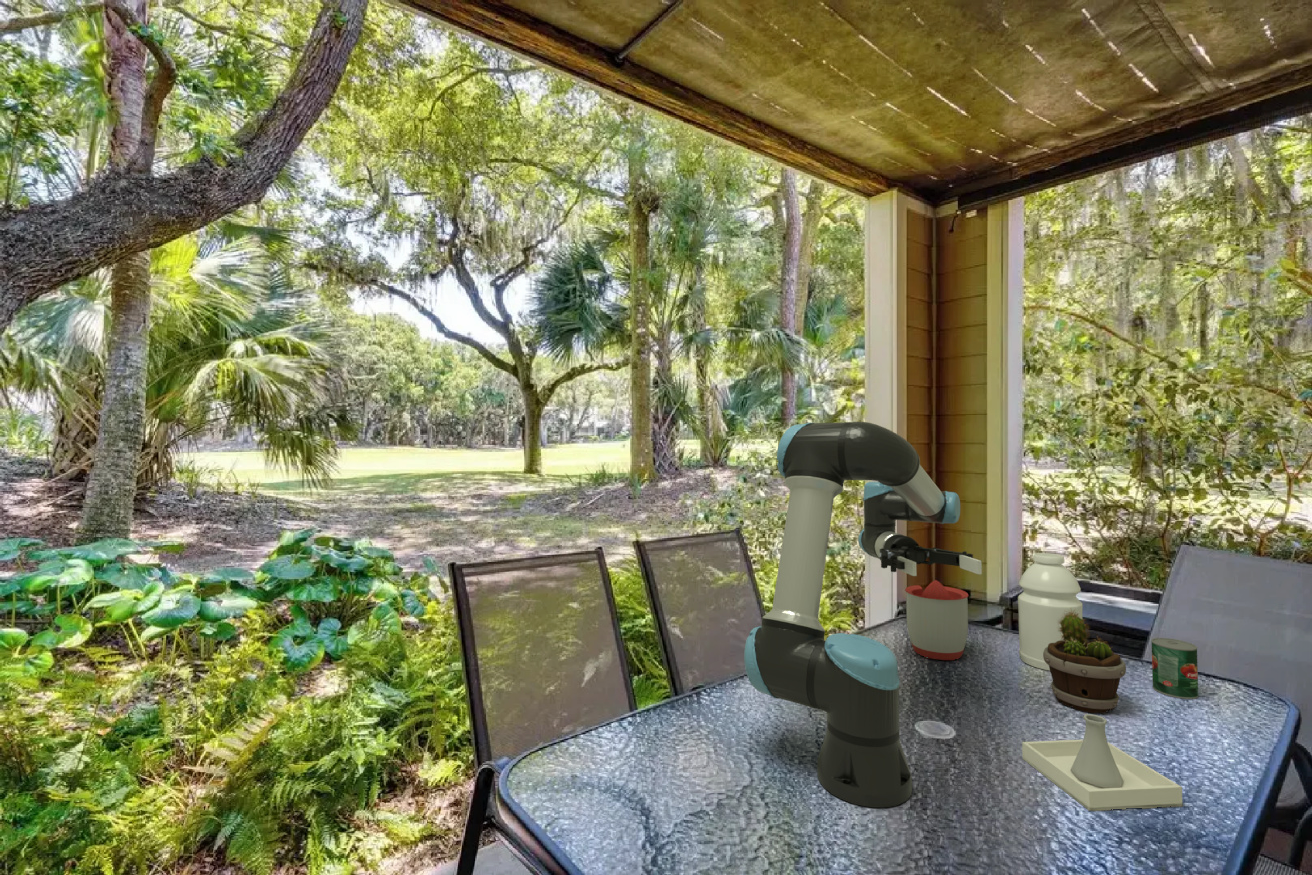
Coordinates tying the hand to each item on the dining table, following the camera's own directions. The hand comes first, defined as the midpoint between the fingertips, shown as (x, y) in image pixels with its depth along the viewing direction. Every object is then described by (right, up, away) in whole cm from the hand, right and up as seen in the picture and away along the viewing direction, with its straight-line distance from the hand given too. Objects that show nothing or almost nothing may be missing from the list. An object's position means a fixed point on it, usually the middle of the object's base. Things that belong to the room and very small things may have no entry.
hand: (947, 568), depth 118 cm
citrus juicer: (+18, -33, +42) cm, 56 cm away
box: (+16, -31, -19) cm, 40 cm away
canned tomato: (+60, -32, +15) cm, 69 cm away
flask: (+16, -31, -19) cm, 40 cm away
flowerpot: (+35, -32, +10) cm, 48 cm away
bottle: (+44, -32, +33) cm, 64 cm away
